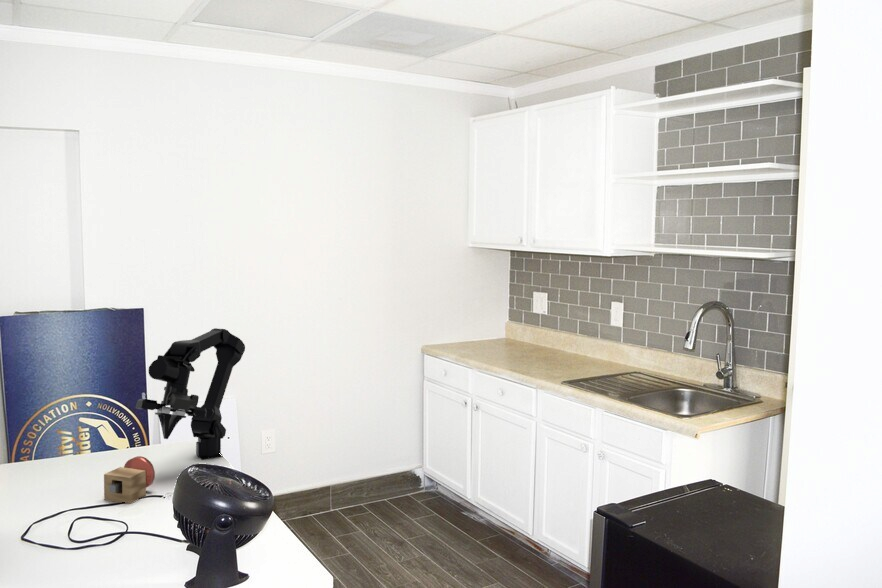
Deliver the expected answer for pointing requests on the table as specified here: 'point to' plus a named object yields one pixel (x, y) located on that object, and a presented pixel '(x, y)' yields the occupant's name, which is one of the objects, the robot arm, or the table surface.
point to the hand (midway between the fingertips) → (165, 438)
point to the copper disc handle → (139, 464)
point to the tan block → (125, 484)
